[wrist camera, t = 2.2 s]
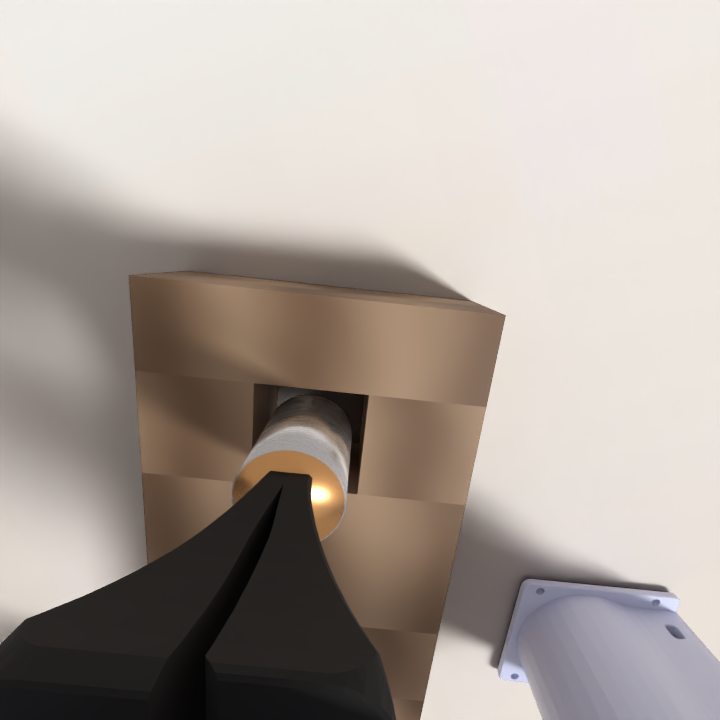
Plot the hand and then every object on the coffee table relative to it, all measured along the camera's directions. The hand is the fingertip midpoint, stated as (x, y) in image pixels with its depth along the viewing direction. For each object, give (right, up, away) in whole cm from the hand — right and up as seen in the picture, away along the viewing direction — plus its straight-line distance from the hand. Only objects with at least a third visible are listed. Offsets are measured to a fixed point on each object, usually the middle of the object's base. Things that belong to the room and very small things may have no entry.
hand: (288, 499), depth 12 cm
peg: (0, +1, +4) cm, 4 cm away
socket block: (0, -4, +10) cm, 10 cm away
